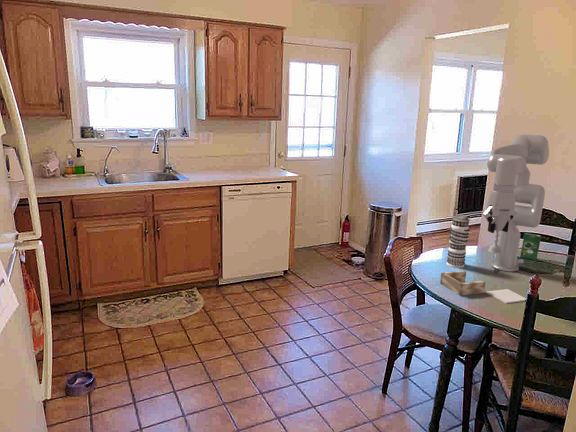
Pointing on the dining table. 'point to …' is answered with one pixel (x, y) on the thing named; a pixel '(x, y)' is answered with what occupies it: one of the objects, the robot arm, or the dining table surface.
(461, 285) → the cubby
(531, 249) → the coffee box
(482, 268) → the dining table surface
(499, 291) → the mat
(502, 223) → the chalice
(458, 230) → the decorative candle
